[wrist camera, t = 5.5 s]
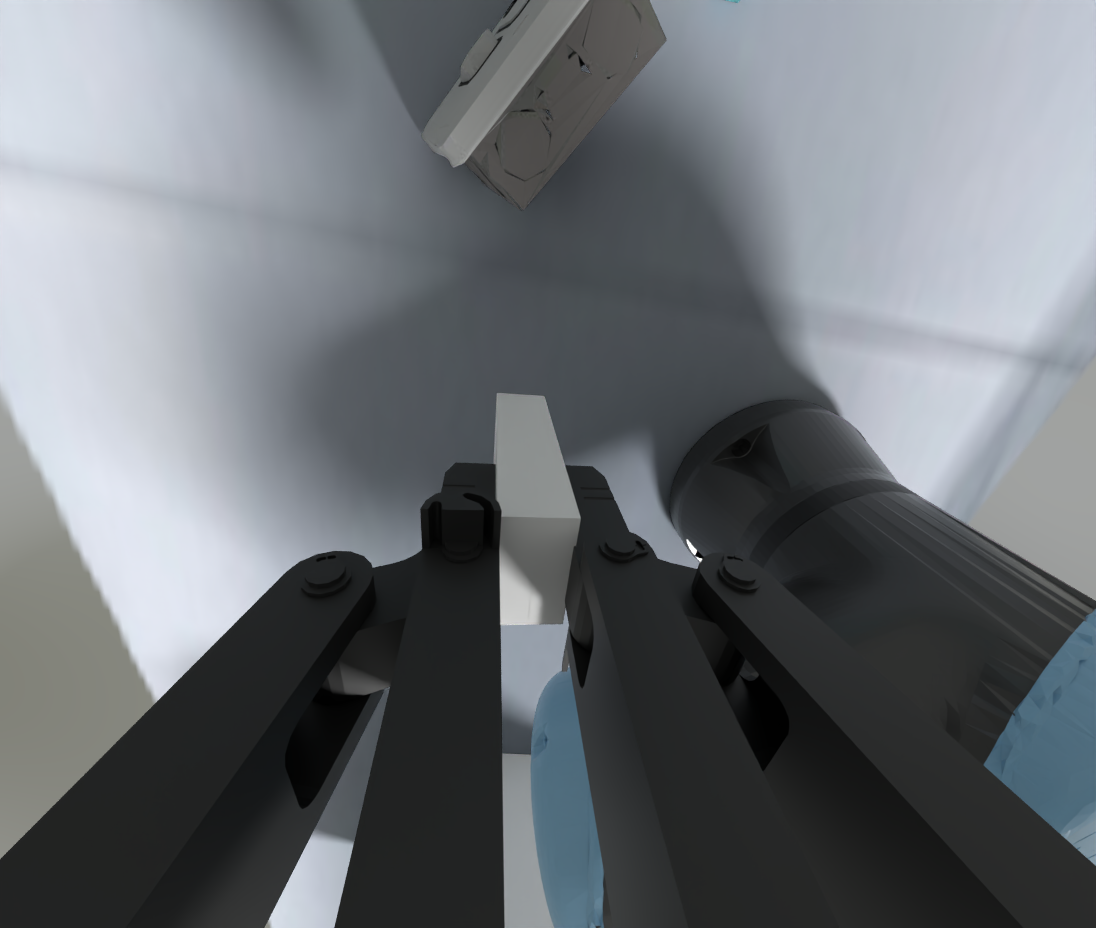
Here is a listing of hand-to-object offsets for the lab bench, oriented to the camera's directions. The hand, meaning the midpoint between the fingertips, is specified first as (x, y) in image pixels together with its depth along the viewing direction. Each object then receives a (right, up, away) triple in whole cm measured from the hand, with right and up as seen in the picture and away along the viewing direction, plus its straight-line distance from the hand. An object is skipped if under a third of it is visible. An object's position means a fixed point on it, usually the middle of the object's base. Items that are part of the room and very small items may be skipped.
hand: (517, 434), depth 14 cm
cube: (-7, -46, +42) cm, 62 cm away
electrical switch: (0, +18, +8) cm, 19 cm away
